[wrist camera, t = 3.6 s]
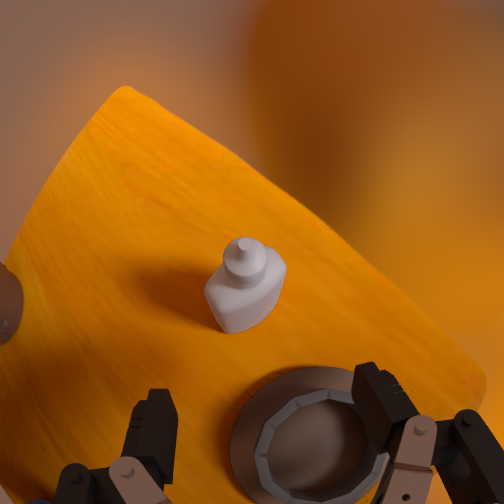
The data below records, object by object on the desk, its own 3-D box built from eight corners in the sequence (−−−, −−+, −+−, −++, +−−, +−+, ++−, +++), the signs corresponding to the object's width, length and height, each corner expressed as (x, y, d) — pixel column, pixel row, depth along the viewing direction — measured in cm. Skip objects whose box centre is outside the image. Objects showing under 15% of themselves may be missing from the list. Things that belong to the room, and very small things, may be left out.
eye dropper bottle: (212, 288, 26) (188, 213, 16) (274, 281, 27) (292, 203, 16) (216, 336, 24) (190, 290, 14) (281, 328, 25) (308, 278, 14)
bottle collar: (195, 441, 20) (187, 448, 17) (318, 334, 25) (329, 325, 21) (306, 536, 16) (314, 553, 13) (417, 431, 20) (437, 434, 17)
